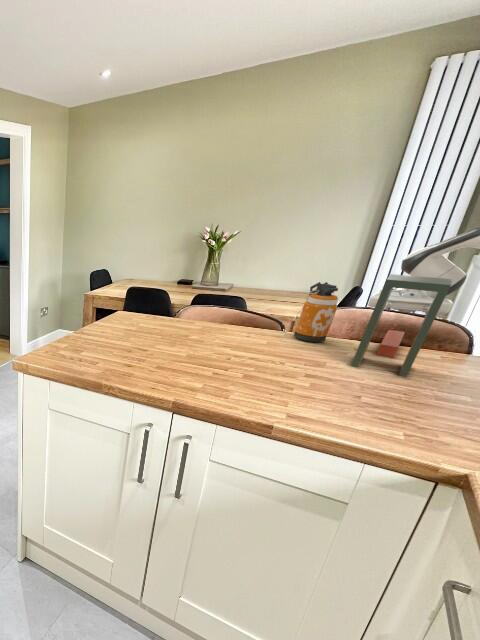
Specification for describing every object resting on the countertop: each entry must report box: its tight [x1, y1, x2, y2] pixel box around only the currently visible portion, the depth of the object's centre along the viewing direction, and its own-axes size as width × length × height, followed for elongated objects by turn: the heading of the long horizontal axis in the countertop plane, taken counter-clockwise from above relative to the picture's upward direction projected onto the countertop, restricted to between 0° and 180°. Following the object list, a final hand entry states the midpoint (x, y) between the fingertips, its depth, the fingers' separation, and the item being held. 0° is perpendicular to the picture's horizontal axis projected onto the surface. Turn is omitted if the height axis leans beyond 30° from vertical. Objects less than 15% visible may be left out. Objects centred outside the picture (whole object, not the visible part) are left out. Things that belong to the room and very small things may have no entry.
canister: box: [293, 281, 339, 343], centre depth 141 cm, size 9×11×20 cm
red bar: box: [375, 329, 405, 359], centre depth 133 cm, size 4×22×4 cm, turn 131°
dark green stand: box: [350, 273, 452, 378], centre depth 115 cm, size 12×11×26 cm
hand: (406, 308), depth 138 cm, fingers open, 8 cm apart
